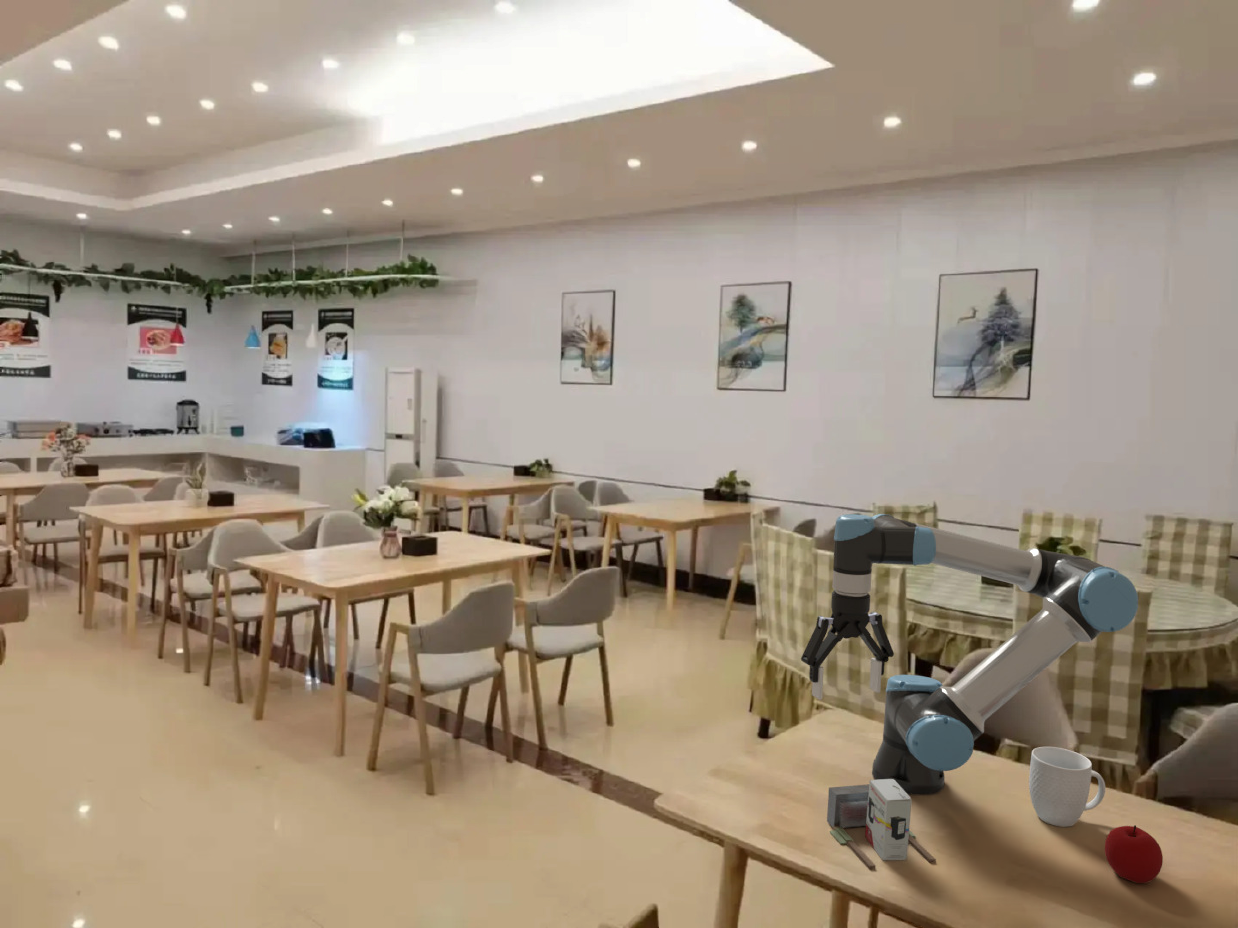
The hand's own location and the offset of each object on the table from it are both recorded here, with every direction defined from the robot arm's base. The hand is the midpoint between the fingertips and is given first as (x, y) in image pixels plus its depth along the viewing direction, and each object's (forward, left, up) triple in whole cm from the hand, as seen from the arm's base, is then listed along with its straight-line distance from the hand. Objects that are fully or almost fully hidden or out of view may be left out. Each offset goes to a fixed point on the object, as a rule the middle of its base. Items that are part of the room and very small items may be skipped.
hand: (846, 694), depth 177 cm
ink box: (-1, +17, -24) cm, 29 cm away
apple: (-41, +33, -24) cm, 58 cm away
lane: (-1, +16, -24) cm, 28 cm away
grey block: (-1, +7, -24) cm, 25 cm away
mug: (-43, +13, -24) cm, 51 cm away
